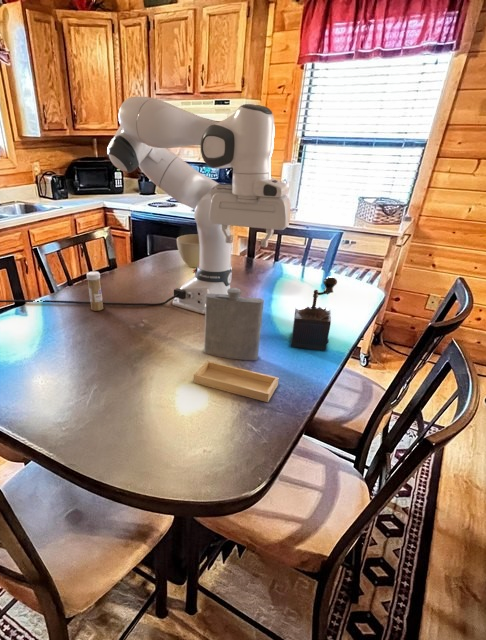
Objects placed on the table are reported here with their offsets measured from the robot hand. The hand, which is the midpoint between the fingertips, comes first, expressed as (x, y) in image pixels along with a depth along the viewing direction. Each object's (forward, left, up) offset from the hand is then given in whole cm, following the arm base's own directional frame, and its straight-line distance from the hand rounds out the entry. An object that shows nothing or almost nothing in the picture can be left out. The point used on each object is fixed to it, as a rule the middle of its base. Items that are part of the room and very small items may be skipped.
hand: (246, 244), depth 107 cm
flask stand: (+6, -17, -31) cm, 36 cm away
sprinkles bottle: (-58, +8, -31) cm, 66 cm away
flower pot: (-49, +73, -31) cm, 93 cm away
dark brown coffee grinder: (+17, +18, -31) cm, 40 cm away
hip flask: (-1, -3, -31) cm, 31 cm away
